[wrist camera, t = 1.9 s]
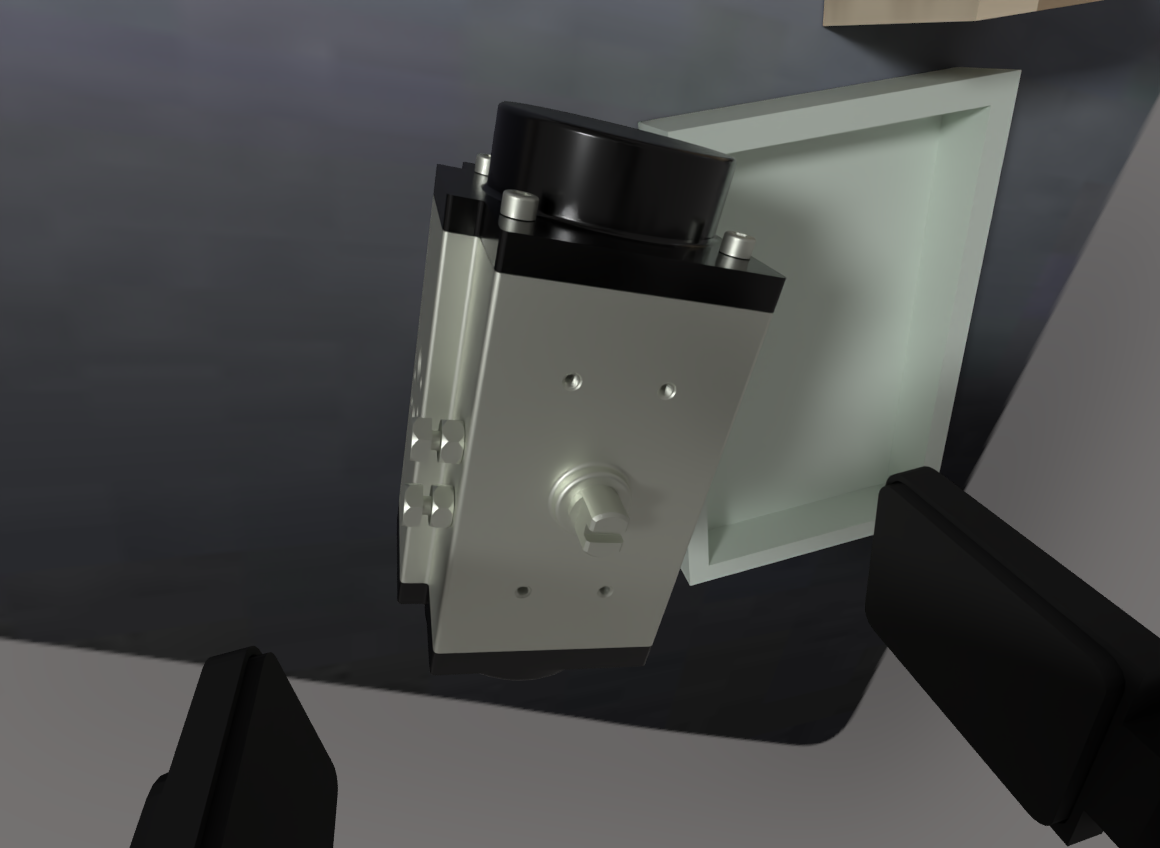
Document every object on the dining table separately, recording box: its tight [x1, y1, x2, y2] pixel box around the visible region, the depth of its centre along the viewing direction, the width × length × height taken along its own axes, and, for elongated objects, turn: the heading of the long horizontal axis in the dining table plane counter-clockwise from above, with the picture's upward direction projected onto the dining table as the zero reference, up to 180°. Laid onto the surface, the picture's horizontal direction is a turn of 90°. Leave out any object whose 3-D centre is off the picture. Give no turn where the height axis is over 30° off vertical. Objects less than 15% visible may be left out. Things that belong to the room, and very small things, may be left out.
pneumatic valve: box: [397, 101, 787, 680], centre depth 16 cm, size 6×12×12 cm, turn 167°
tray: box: [638, 67, 1022, 586], centre depth 23 cm, size 17×11×2 cm, turn 7°
